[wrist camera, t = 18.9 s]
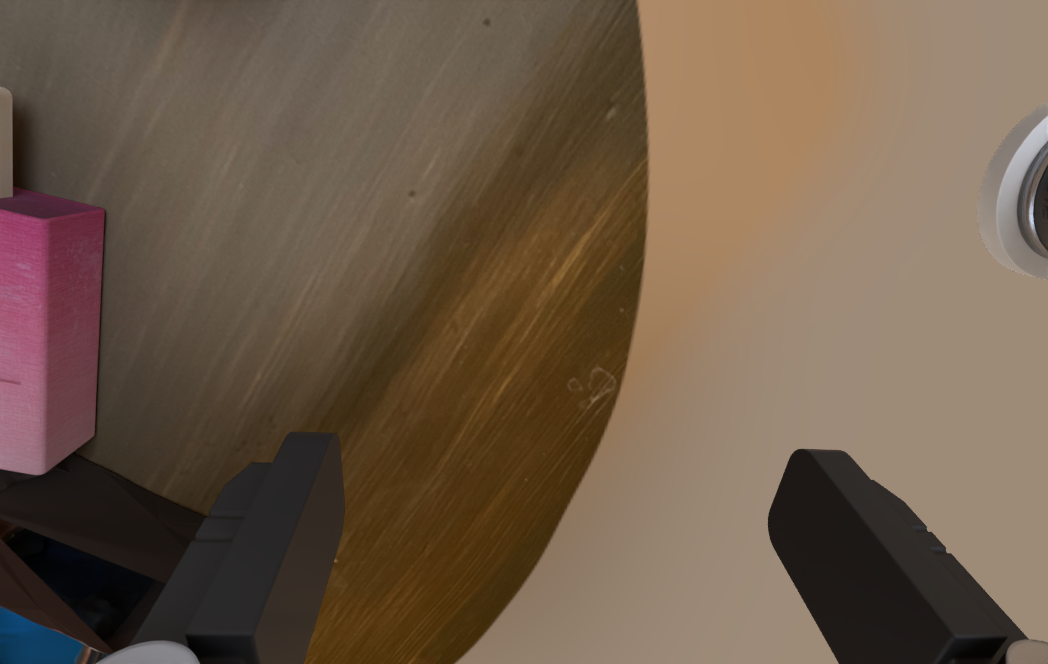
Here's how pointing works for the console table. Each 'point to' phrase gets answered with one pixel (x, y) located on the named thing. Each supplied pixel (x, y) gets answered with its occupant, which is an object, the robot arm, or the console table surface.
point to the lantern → (82, 561)
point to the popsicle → (46, 318)
